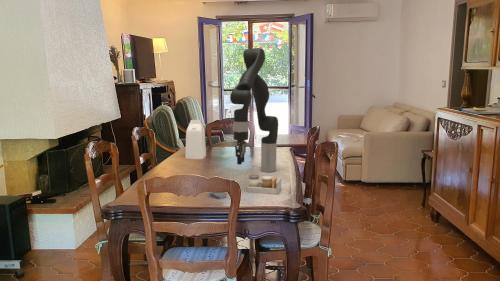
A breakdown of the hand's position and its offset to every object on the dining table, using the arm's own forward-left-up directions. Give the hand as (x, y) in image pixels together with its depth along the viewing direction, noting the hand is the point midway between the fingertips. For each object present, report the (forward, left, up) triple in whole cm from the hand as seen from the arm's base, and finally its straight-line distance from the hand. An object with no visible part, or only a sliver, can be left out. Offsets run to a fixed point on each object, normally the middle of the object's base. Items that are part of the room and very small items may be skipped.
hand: (240, 163), depth 203 cm
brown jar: (0, +14, -13) cm, 19 cm away
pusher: (0, +17, -13) cm, 22 cm away
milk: (-65, -48, -14) cm, 82 cm away
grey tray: (0, +12, -13) cm, 18 cm away
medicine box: (+15, -7, -14) cm, 22 cm away
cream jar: (0, +7, -13) cm, 15 cm away
